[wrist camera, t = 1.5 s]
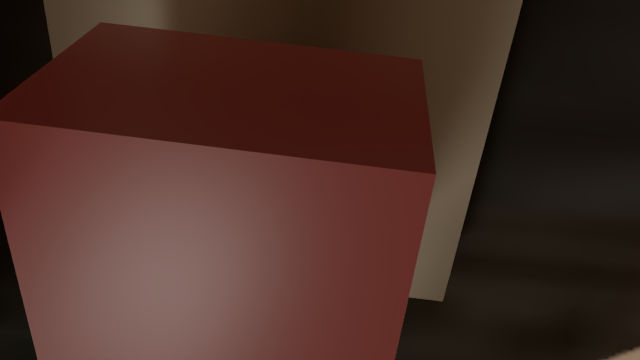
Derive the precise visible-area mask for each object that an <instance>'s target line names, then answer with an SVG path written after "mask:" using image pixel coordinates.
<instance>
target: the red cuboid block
mask: <svg viewBox="0 0 640 360" xmlns="http://www.w3.org/2000/svg"><path fill="white" fill-rule="evenodd" d="M435 178H436V169H435V161H434V153H433V145H432V137H431V129H430V121H429V113H428V105H427V97H426V89H425V81H424V73H423V65H422V60H421V59H413V58H404V57H396V56H387V55H378V54H370V53H361V52H353V51H344V50H335V49H327V48H318V47H310V46H301V45H293V44H284V43H275V42H267V41H258V40H250V39H241V38H233V37H224V36H215V35H207V34H198V33H190V32H181V31H173V30H164V29H155V28H147V27H138V26H130V25H121V24H113V23H104V22H100V23H99V24H98V25H96V26H95V27H94V28H93V29H91V30H90V31H89V32H87V33H86V34H85V35H83V36H82V37H81V38H80V39H78V40H77V41H76V42H74V43H73V44H72V45H71V46H69V47H68V48H67V49H65V50H64V51H63V52H62V53H60V54H59V55H58V56H56V57H55V58H54V59H53V60H51V61H50V62H49V63H47V64H46V65H45V66H44V67H42V68H41V69H40V70H38V71H37V72H36V73H34V74H33V75H32V76H31V77H29V78H28V79H27V80H25V81H24V82H23V83H22V84H20V85H19V86H18V87H16V88H15V89H14V90H13V91H11V92H10V93H9V94H7V95H6V96H5V97H4V98H2V99H1V100H0V211H1V215H2V219H3V223H4V227H5V231H6V235H7V239H8V243H9V247H10V251H11V255H12V259H13V263H14V267H15V271H16V275H17V279H18V283H19V287H20V291H21V295H22V299H23V303H24V307H25V311H26V315H27V319H28V323H29V327H30V331H31V335H32V339H33V343H34V347H35V351H36V355H37V359H38V360H395V356H396V351H397V347H398V342H399V338H400V333H401V329H402V325H403V320H404V316H405V311H406V307H407V302H408V298H409V293H410V289H411V285H412V280H413V276H414V271H415V267H416V262H417V258H418V253H419V249H420V244H421V240H422V236H423V231H424V227H425V222H426V218H427V213H428V209H429V204H430V200H431V195H432V191H433V187H434V182H435Z"/></svg>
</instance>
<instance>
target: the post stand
mask: <svg viewBox="0 0 640 360" xmlns="http://www.w3.org/2000/svg"><path fill="white" fill-rule="evenodd" d="M43 1H44V7H45V13H46V19H47V25H48V31H49V37H50V43H51V49H52V55H53V59H54V58H55V57H56V56H58V55H59V54H60V53H62V52H63V51H64V50H65V49H67V48H68V47H69V46H71V45H72V44H73V43H74V42H76V41H77V40H78V39H80V38H81V37H82V36H83V35H85V34H86V33H87V32H89V31H90V30H91V29H93V28H94V27H95V26H96V25H98V24H99V23H100V22H104V23H113V24H121V25H130V26H138V27H147V28H155V29H164V30H173V31H181V32H190V33H198V34H207V35H215V36H224V37H233V38H241V39H250V40H258V41H267V42H275V43H284V44H293V45H301V46H310V47H318V48H327V49H335V50H344V51H353V52H361V53H370V54H378V55H387V56H396V57H404V58H413V59H421V60H422V65H423V73H424V81H425V89H426V97H427V105H428V113H429V121H430V129H431V137H432V145H433V153H434V161H435V169H436V178H435V182H434V187H433V191H432V195H431V200H430V204H429V209H428V213H427V218H426V222H425V227H424V231H423V236H422V240H421V244H420V249H419V253H418V258H417V262H416V267H415V271H414V276H413V280H412V285H411V289H410V293H409V297H412V298H420V299H428V300H436V301H443V298H444V294H445V291H446V287H447V283H448V279H449V276H450V272H451V268H452V264H453V261H454V257H455V253H456V249H457V246H458V242H459V238H460V234H461V231H462V227H463V223H464V219H465V216H466V212H467V208H468V204H469V201H470V197H471V193H472V189H473V186H474V182H475V178H476V174H477V171H478V167H479V163H480V159H481V156H482V152H483V148H484V144H485V141H486V137H487V133H488V129H489V126H490V122H491V118H492V114H493V111H494V107H495V103H496V99H497V96H498V92H499V88H500V84H501V81H502V77H503V73H504V69H505V66H506V62H507V58H508V54H509V51H510V47H511V43H512V39H513V36H514V32H515V28H516V24H517V21H518V17H519V13H520V9H521V6H522V2H523V0H43Z"/></svg>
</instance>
